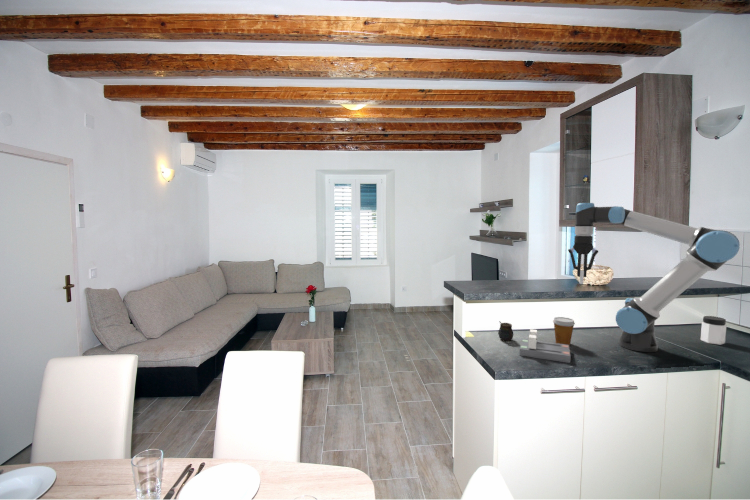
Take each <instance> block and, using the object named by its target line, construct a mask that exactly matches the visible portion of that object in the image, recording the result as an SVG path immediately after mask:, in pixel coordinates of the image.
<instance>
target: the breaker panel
mask: <svg viewBox="0 0 750 500" xmlns="http://www.w3.org/2000/svg"><path fill="white" fill-rule="evenodd" d="M528 346H529V338H521V343H520V346H519V356H521V357H522V356H523V357H528V358H535V359H542V360H548V361H555V362H562V363H567V364H568V363H569V364H570V363H571V351H570V345H566V344H559V343H556V342H550V341H542V340H537V343H536V349H530V348H528Z"/></svg>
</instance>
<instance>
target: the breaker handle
mask: <svg viewBox="0 0 750 500" xmlns="http://www.w3.org/2000/svg"><path fill="white" fill-rule="evenodd" d="M529 335H536V343H537V341H538V340H537V339H538V330H537V329H533V328H532V329H531V328H530V329H529Z"/></svg>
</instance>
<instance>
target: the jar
mask: <svg viewBox="0 0 750 500" xmlns="http://www.w3.org/2000/svg"><path fill="white" fill-rule="evenodd" d="M726 321H727V320H726V318H723V317H719V316H714V315H704V316H703V318H702V322H701V330H700V341H703V343H707V344H713V345H718V346H719V345H725V344H726V334H727V324H726V323H727V322H726Z"/></svg>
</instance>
